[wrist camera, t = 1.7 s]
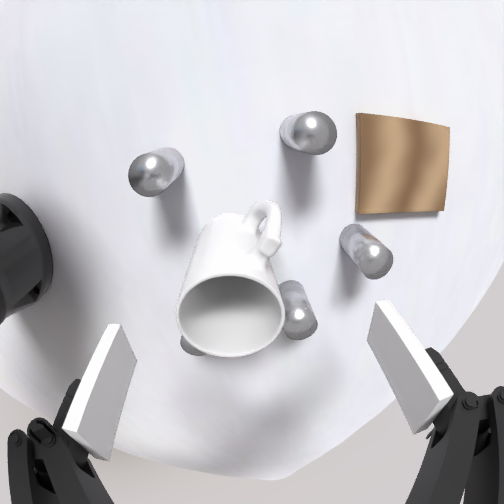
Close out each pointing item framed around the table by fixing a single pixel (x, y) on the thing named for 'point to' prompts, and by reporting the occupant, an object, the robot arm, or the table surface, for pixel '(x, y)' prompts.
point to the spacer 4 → (297, 311)
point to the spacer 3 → (309, 132)
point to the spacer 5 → (366, 251)
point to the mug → (233, 285)
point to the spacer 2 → (190, 348)
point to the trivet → (400, 165)
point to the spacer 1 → (155, 171)
